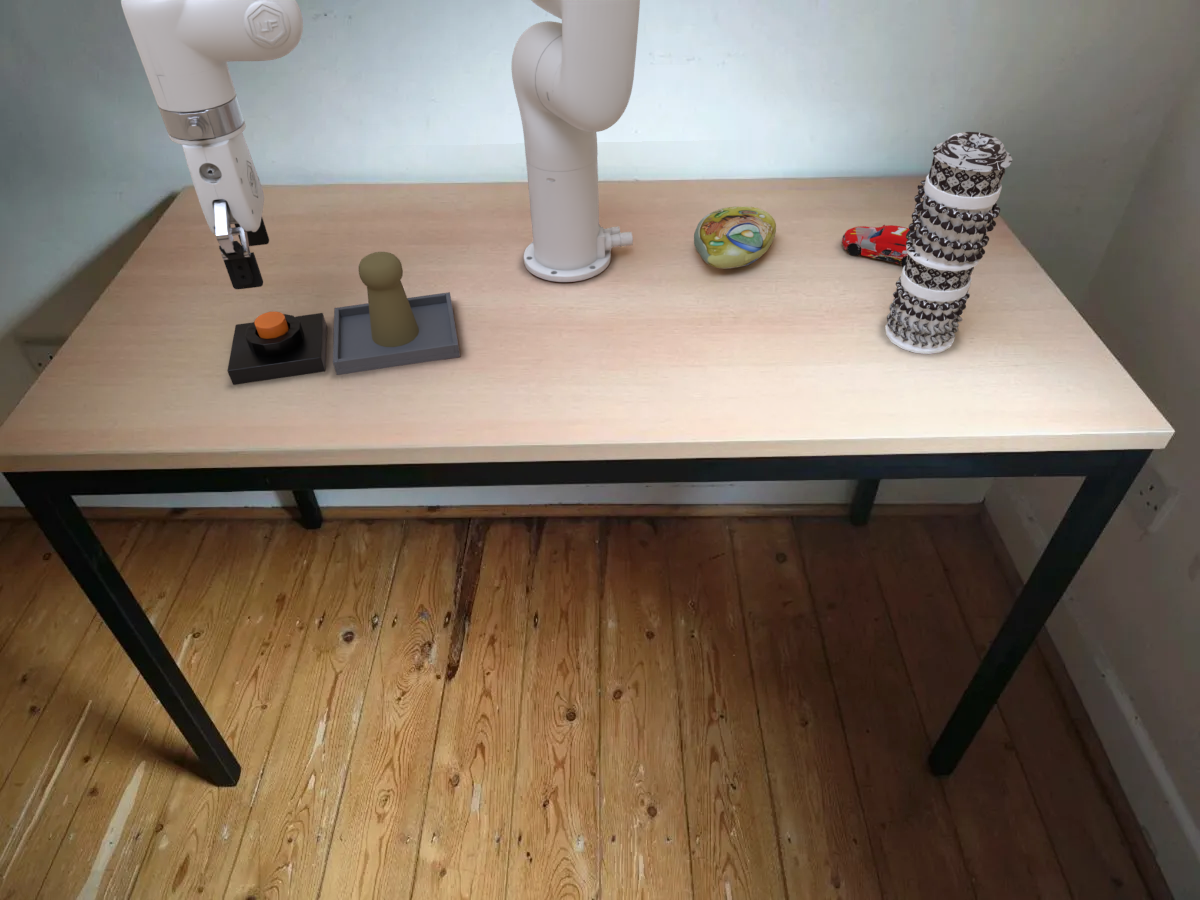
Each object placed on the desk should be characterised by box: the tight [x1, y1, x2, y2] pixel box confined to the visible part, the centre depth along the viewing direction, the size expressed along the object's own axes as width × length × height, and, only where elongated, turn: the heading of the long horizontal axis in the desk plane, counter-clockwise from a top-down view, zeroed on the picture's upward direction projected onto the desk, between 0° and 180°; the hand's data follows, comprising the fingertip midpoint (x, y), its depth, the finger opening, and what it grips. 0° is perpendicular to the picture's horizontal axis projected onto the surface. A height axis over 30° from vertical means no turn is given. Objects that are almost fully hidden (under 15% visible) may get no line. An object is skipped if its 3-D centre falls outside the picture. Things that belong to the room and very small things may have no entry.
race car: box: [841, 224, 911, 267], centre depth 119 cm, size 13×5×4 cm, turn 60°
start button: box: [254, 311, 289, 339], centre depth 103 cm, size 4×4×2 cm
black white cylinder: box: [884, 131, 1013, 355], centre depth 97 cm, size 9×9×25 cm
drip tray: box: [332, 291, 461, 376], centre depth 107 cm, size 15×12×2 cm
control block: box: [226, 312, 328, 386], centre depth 104 cm, size 11×10×4 cm
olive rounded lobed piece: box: [358, 251, 419, 347], centre depth 103 cm, size 6×6×11 cm
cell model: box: [693, 206, 777, 270], centre depth 119 cm, size 11×8×15 cm
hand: (252, 264), depth 97 cm, fingers open, 9 cm apart
